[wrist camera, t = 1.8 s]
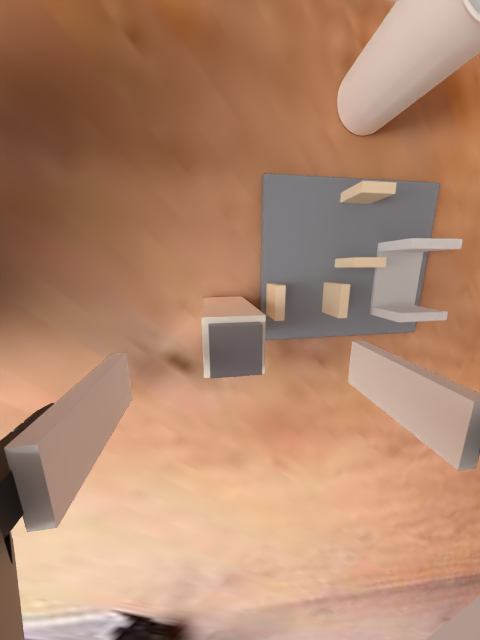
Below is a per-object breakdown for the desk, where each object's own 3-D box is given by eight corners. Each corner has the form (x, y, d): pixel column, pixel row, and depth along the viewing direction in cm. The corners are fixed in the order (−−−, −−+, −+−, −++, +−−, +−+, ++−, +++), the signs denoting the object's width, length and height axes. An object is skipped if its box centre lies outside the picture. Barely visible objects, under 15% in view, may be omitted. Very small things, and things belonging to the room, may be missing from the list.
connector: (204, 334, 27) (204, 384, 16) (203, 297, 26) (201, 320, 14) (242, 333, 28) (268, 379, 16) (241, 296, 27) (269, 318, 15)
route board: (259, 338, 28) (272, 353, 23) (262, 176, 24) (277, 151, 19) (409, 330, 31) (449, 342, 26) (433, 185, 27) (486, 166, 22)
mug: (373, 151, 25) (515, 53, 14) (323, 119, 24) (434, -22, 12) (418, 52, 24) (620, -153, 12) (367, 11, 22) (542, -265, 11)
